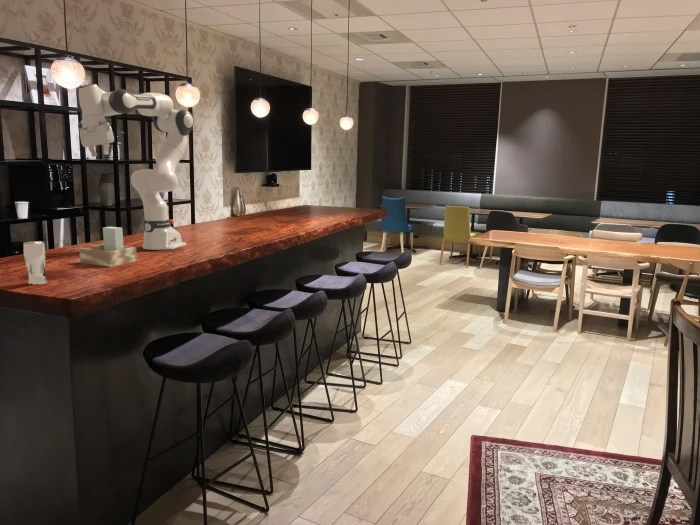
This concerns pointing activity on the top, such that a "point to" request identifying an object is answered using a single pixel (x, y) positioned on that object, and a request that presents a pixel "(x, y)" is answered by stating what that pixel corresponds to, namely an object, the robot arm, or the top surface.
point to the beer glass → (35, 261)
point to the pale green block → (113, 238)
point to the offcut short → (97, 247)
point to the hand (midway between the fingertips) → (100, 155)
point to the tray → (108, 256)
